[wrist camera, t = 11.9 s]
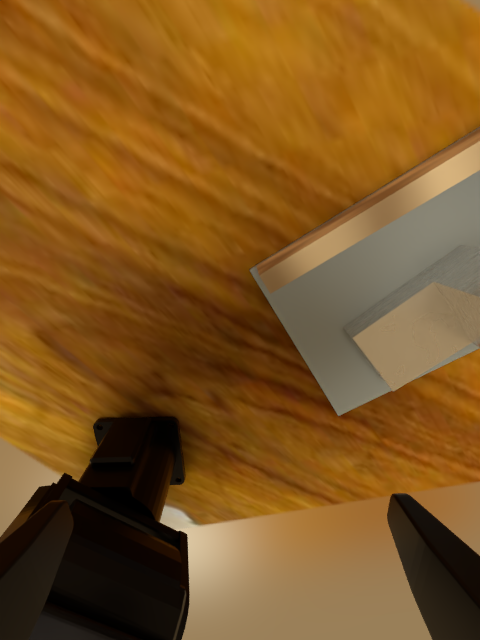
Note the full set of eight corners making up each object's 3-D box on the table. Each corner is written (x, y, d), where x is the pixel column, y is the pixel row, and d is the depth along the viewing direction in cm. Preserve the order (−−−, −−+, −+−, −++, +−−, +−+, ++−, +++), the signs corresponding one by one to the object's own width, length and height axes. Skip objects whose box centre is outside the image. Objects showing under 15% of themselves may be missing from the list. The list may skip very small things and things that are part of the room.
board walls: (324, 380, 22) (340, 409, 18) (255, 264, 19) (258, 275, 15) (532, 274, 19) (594, 285, 16) (488, 121, 16) (552, 96, 13)
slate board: (336, 411, 23) (338, 416, 22) (249, 269, 19) (249, 270, 18) (551, 307, 20) (559, 309, 19) (497, 115, 16) (505, 112, 16)
